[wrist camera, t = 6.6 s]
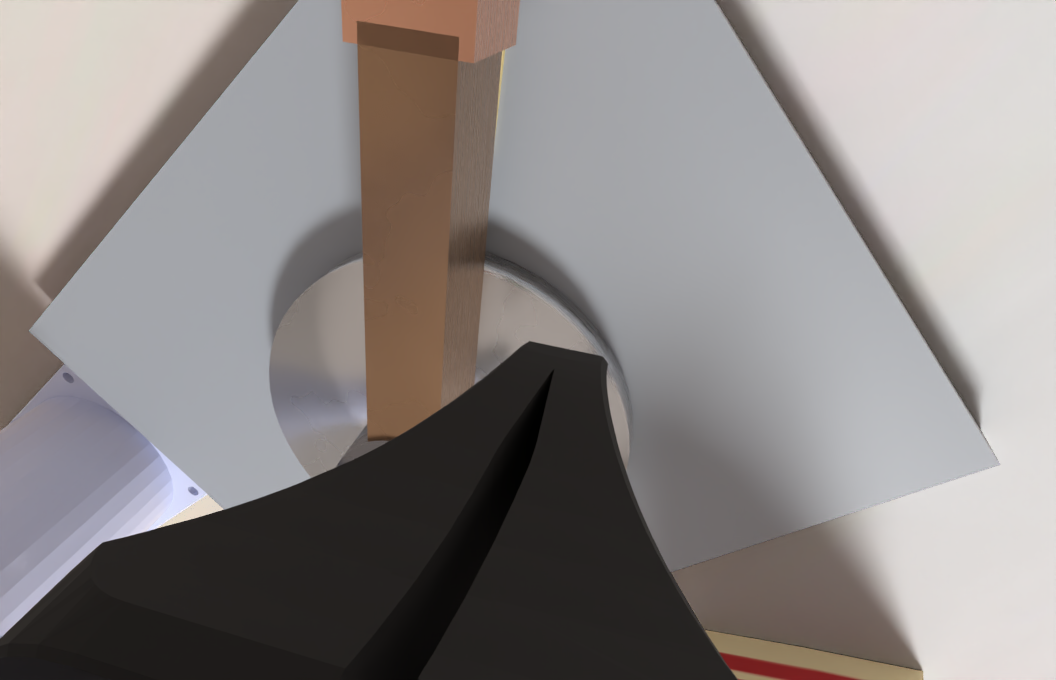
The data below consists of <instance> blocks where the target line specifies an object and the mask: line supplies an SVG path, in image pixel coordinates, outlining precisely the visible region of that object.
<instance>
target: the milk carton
mask: <svg viewBox="0 0 1056 680" xmlns="http://www.w3.org/2000/svg"><path fill="white" fill-rule="evenodd" d="M705 632H706V633H707V635H708V636H709V638H710V639H711V641H712V642H713V644H714V645H715V647H716V648H717V650H718V651H719V653H720V654H721V656H722V657H723V659H724V661H725V662H726V664H727V665H728V666H729V668H730V669H731V671H732V672H733V673H734V675H735V676H736V678H737V679H738V680H923V671H919V670H914V669H909V668H904V667H899V666H894V665H889V664H884V663H879V662H874V661H869V660H864V659H859V658H854V657H849V656H844V655H839V654H834V653H829V652H824V651H819V650H814V649H809V648H804V647H799V646H793V645H787V644H782V643H776V642H771V641H765V640H759V639H754V638H748V637H742V636H737V635H731V634H725V633H720V632H714V631H708V630H705Z"/></svg>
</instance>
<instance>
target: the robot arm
mask: <svg viewBox="0 0 1056 680" xmlns="http://www.w3.org/2000/svg"><path fill="white" fill-rule="evenodd" d="M607 368H608V363H607V361H606V360H605V359H604V357H603V356H599V355H594V354H590V353H585V352H580V351H575V350H570V349H565V348H561V347H556V346H551V345H546V344H541V343H537V342H532V341H529V342H527V343H526V344H524V345H522V346H521V347H520V348H519V349H518V350H516V351H515V352H514V353H513V354H512V355H511V356H509V357H508V358H507V359H506V360H505V361H503V362H502V363H501V364H500V365H499V366H497V367H496V368H495V369H494V370H492V371H491V372H490V373H489V374H488V375H486V376H485V377H484V378H483V379H481V380H480V381H479V382H477V383H476V384H475V385H473V386H472V387H471V388H469V389H468V390H467V391H465V392H464V393H463V394H461V395H460V396H459V397H457V398H456V399H455V400H453V401H452V402H450V403H449V404H447V405H446V406H444V407H443V408H441V409H440V410H438V411H437V412H435V413H434V414H432V415H431V416H429V417H428V418H426V419H425V420H423V421H422V422H420V423H419V424H417V425H416V426H414V427H412V428H411V429H409V430H407V431H406V432H404V433H402V434H401V435H399V436H397V437H396V438H394V439H392V440H390V441H389V442H387V443H385V444H383V445H381V446H379V447H377V448H376V449H374V450H372V451H370V452H368V453H366V454H364V455H362V456H360V457H358V458H356V459H354V460H352V461H349V462H347V463H345V464H342V465H340V466H338V467H335V468H333V469H331V470H328V471H326V472H324V473H322V474H319V475H317V476H315V477H312V478H310V479H308V480H305V481H303V482H301V483H298V484H296V485H293V486H291V487H288V488H286V489H283V490H280V491H277V492H275V493H272V494H269V495H266V496H264V497H261V498H258V499H255V500H252V501H249V502H246V503H243V504H240V505H237V506H234V507H231V508H228V509H225V510H222V511H218V512H215V513H212V514H209V515H205V516H202V517H199V518H195V519H191V520H187V521H184V522H180V523H176V524H172V525H169V526H165V527H161V528H157V527H159V526H160V525H162V524H163V523H165V522H166V521H168V520H169V519H171V518H173V517H174V516H176V515H177V514H179V513H180V512H182V511H183V510H185V509H186V508H188V507H189V506H191V505H192V504H194V503H195V502H197V501H198V500H200V499H201V498H203V497H204V496H206V495H207V493H206V492H204V491H203V490H202V489H201V488H200V487H199V486H198V485H197V484H196V483H195V482H194V481H192V480H191V479H190V478H189V477H188V476H187V475H186V474H185V473H184V472H183V471H181V470H180V469H179V468H178V467H177V466H176V465H175V464H174V463H173V462H172V461H170V460H169V459H168V458H167V457H166V456H165V455H164V454H163V453H162V452H161V451H160V450H158V449H157V448H156V447H155V446H154V445H153V444H152V443H151V442H150V441H149V440H147V439H146V438H145V437H144V436H143V435H142V434H141V433H140V432H139V431H138V430H137V429H135V428H134V427H133V426H132V425H131V424H130V423H129V422H128V421H127V420H126V419H124V418H123V417H122V416H121V415H120V414H119V413H118V412H117V411H116V410H115V409H113V408H112V407H111V406H110V405H109V404H108V403H107V402H106V401H105V400H104V399H103V398H101V397H100V396H99V395H98V394H97V393H96V392H95V391H94V390H93V389H92V388H90V387H89V386H88V385H87V384H86V383H85V382H84V381H83V380H82V379H81V378H79V377H78V376H77V375H76V374H75V373H74V372H73V371H72V370H71V369H70V368H69V367H67V366H66V365H65V364H64V365H63V366H62V367H61V368H60V369H59V370H58V371H57V372H56V373H55V374H54V375H53V376H52V378H51V379H50V380H49V381H48V382H47V383H46V384H45V385H44V386H43V387H42V388H41V389H40V391H39V392H38V393H37V394H36V395H35V396H34V397H33V398H32V399H31V400H30V401H29V402H28V403H27V405H26V406H25V407H24V408H23V409H22V410H21V411H20V412H19V413H18V414H17V415H16V416H15V418H14V419H13V420H12V421H11V422H10V423H9V424H8V425H7V426H6V427H5V428H3V429H2V430H0V680H738V679H737V678H736V676H735V675H734V673H733V672H732V671H731V669H730V668H729V666H728V665H727V664H726V662H725V661H724V659H723V657H722V656H721V654H720V653H719V651H718V650H717V648H716V647H715V645H714V644H713V642H712V641H711V639H710V638H709V636H708V635H707V633H706V632H705V630H704V629H703V627H702V625H701V624H700V622H699V621H698V619H697V617H696V615H695V614H694V612H693V610H692V609H691V607H690V605H689V603H688V602H687V600H686V598H685V596H684V595H683V593H682V591H681V589H680V588H679V586H678V584H677V582H676V581H675V579H674V577H673V576H672V574H671V572H670V570H669V569H668V567H667V565H666V563H665V561H664V559H663V557H662V555H661V553H660V551H659V549H658V547H657V545H656V543H655V541H654V539H653V537H652V535H651V533H650V530H649V528H648V526H647V524H646V521H645V519H644V517H643V514H642V512H641V510H640V507H639V505H638V502H637V500H636V497H635V495H634V492H633V489H632V487H631V484H630V481H629V478H628V475H627V472H626V469H625V466H624V463H623V460H622V457H621V453H620V450H619V446H618V443H617V438H616V434H615V430H614V426H613V422H612V417H611V412H610V407H609V400H608V392H607ZM156 528H157V529H156Z"/></svg>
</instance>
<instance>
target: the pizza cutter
mask: <svg viewBox="0 0 1056 680" xmlns="http://www.w3.org/2000/svg"><path fill="white" fill-rule="evenodd" d="M519 6H520V0H341V10H342V37H343V42H348V43H354V44H357V50H358V88H359V127H360V165H361V204H362V243H363V252H361V253H359V254H357V255H354V256H352V257H350V258H348V259H346V260H344V261H343V262H341V263H340V264H338V265H337V266H335V267H334V268H332V269H331V270H329V271H328V272H327V273H326V274H325V275H323V276H322V277H321V278H320V279H318V280H317V281H316V282H315V283H313V284H312V285H311V286H310V287H309V288H308V289H307V290H306V291H304V292H303V293H302V294H301V295H300V296H299V297H298V298H297V299H296V300H295V301H294V303H293V304H292V305H291V307H290V308H289V310H288V311H287V312H286V314H285V315H284V317H283V319H282V321H281V323H280V325H279V327H278V329H277V331H276V334H275V337H274V341H273V345H272V348H271V354H270V363H269V382H270V392H271V397H272V402H273V407H274V410H275V413H276V416H277V419H278V422H279V425H280V428H281V430H282V432H283V434H284V436H285V438H286V440H287V443H288V445H289V446H290V448H291V450H292V451H293V453H294V454H295V456H296V458H297V459H298V461H299V462H300V464H301V465H302V466H303V468H304V469H305V470H306V472H307V473H308V474H309V476H310V477H311V478H312V477H315V476H317V475H319V474H322V473H324V472H326V471H328V470H331V469H333V468H335V467H338V466H340V465H342V464H345V463H347V462H349V461H352V460H354V459H356V458H358V457H360V456H362V455H364V454H366V453H368V452H370V451H372V450H374V449H376V448H377V447H379V446H381V445H383V444H385V443H387V442H389V441H390V440H392V439H394V438H396V437H397V436H399V435H401V434H402V433H404V432H406V431H407V430H409V429H411V428H412V427H414V426H416V425H417V424H419V423H420V422H422V421H423V420H425V419H426V418H428V417H429V416H431V415H432V414H434V413H435V412H437V411H438V410H440V409H441V408H443V407H444V406H446V405H447V404H449V403H450V402H452V401H453V400H455V399H456V398H457V397H459V396H460V395H461V394H463V393H464V392H465V391H467V390H468V389H469V388H471V387H472V386H473V385H475V384H476V383H477V382H479V381H480V380H481V379H483V378H484V377H485V376H486V375H488V374H489V373H490V372H491V371H492V370H494V369H495V368H496V367H497V366H499V365H500V364H501V363H502V362H503V361H505V360H506V359H507V358H508V357H509V356H511V355H512V354H513V353H514V352H515V351H516V350H518V349H519V348H520V347H521V346H522V345H524V344H526V343H527V342H529V341H532V342H537V343H541V344H546V345H551V346H556V347H561V348H565V349H570V350H575V351H580V352H585V353H590V354H594V355H599V356H603V357H604V359H605V360H606V361H607V363H608V368H607V392H608V400H609V407H610V412H611V417H612V422H613V426H614V430H615V434H616V438H617V443H618V446H619V450H620V453H621V457H622V460H623V463H624V466H625V469H626V471H627V465H628V460H629V454H630V448H631V442H632V436H633V414H632V408H631V401H630V395H629V391H628V388H627V385H626V382H625V379H624V376H623V373H622V371H621V368H620V366H619V364H618V362H617V360H616V358H615V356H614V354H613V352H612V350H611V349H610V347H609V346H608V344H607V343H606V341H605V340H604V338H603V337H602V335H601V334H600V332H599V331H598V329H597V328H596V327H595V326H594V325H593V324H592V322H591V321H590V320H589V319H588V318H587V317H586V315H585V314H584V313H583V312H582V311H581V310H580V309H579V308H578V307H577V306H576V305H575V304H574V303H573V302H571V301H570V300H569V299H568V298H567V297H566V296H565V295H564V294H563V293H561V292H560V291H559V290H557V289H556V288H555V287H553V286H552V285H550V284H549V283H548V282H546V281H545V280H543V279H542V278H541V277H539V276H537V275H536V274H534V273H532V272H530V271H528V270H527V269H525V268H523V267H521V266H519V265H517V264H516V263H514V262H511V261H509V260H506V259H504V258H501V257H499V256H496V255H494V254H491V253H489V252H485V250H486V238H487V226H488V214H489V202H490V190H491V178H492V166H493V154H494V142H495V130H496V119H497V107H498V95H499V83H500V71H501V59H502V51H503V50H505V49H508V48H510V47H512V46H515V45H516V38H517V27H518V16H519Z"/></svg>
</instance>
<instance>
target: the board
mask: <svg viewBox="0 0 1056 680" xmlns="http://www.w3.org/2000/svg"><path fill="white" fill-rule="evenodd" d="M361 252H363V243H362V204H361V165H360V127H359V88H358V50H357V44H354V43H348V42H343V37H342V10H341V0H298V1H297V3H296V4H295V5H294V6H293V8H292V9H291V10H290V11H289V12H288V14H287V15H286V16H285V17H284V19H283V20H282V21H281V22H280V24H279V25H278V26H277V27H276V28H275V30H274V31H273V32H272V33H271V35H270V36H269V37H268V38H267V39H266V41H265V42H264V43H263V44H262V46H261V47H260V48H259V49H258V50H257V52H256V53H255V54H254V55H253V57H252V58H251V59H250V60H249V61H248V63H247V64H246V65H245V66H244V68H243V69H242V70H241V71H240V72H239V74H238V75H237V76H236V77H235V79H234V80H233V81H232V82H231V84H230V85H229V86H228V87H227V88H226V90H225V91H224V92H223V93H222V95H221V96H220V97H219V98H218V99H217V101H216V102H215V103H214V104H213V106H212V107H211V108H210V109H209V110H208V112H207V113H206V114H205V115H204V117H203V118H202V119H201V120H200V121H199V123H198V124H197V125H196V126H195V128H194V129H193V130H192V131H191V132H190V134H189V135H188V136H187V137H186V139H185V140H184V141H183V142H182V144H181V145H180V146H179V147H178V148H177V150H176V151H175V152H174V153H173V155H172V156H171V157H170V158H169V159H168V161H167V162H166V163H165V164H164V166H163V167H162V168H161V169H160V170H159V172H158V173H157V174H156V175H155V177H154V178H153V179H152V180H151V181H150V183H149V184H148V185H147V186H146V188H145V189H144V190H143V191H142V192H141V194H140V195H139V196H138V197H137V199H136V200H135V201H134V202H133V203H132V205H131V206H130V207H129V208H128V210H127V211H126V212H125V213H124V215H123V216H122V217H121V218H120V219H119V221H118V222H117V223H116V224H115V226H114V227H113V228H112V229H111V230H110V232H109V233H108V234H107V235H106V237H105V238H104V239H103V240H102V241H101V243H100V244H99V245H98V246H97V248H96V249H95V250H94V251H93V252H92V254H91V255H90V256H89V257H88V259H87V260H86V261H85V262H84V263H83V265H82V266H81V267H80V268H79V270H78V271H77V272H76V273H75V275H74V276H73V277H72V278H71V279H70V281H69V282H68V283H67V284H66V286H65V287H64V288H63V289H62V290H61V292H60V293H59V294H58V295H57V297H56V298H55V299H54V300H53V301H52V303H51V304H50V305H49V306H48V308H47V309H46V310H45V311H44V312H43V314H42V315H41V316H40V317H39V319H38V320H37V321H36V322H35V323H34V325H33V326H32V327H31V328H30V330H29V332H30V333H31V334H32V335H33V336H35V337H36V338H37V339H38V340H39V341H40V342H41V343H42V344H43V345H44V346H45V347H47V348H48V349H49V350H50V351H51V352H52V353H53V354H54V355H55V356H56V357H58V358H59V359H60V360H61V361H62V362H63V363H64V364H65V365H66V366H67V367H69V368H70V369H71V370H72V371H73V372H74V373H75V374H76V375H77V376H78V377H79V378H81V379H82V380H83V381H84V382H85V383H86V384H87V385H88V386H89V387H90V388H92V389H93V390H94V391H95V392H96V393H97V394H98V395H99V396H100V397H101V398H103V399H104V400H105V401H106V402H107V403H108V404H109V405H110V406H111V407H112V408H113V409H115V410H116V411H117V412H118V413H119V414H120V415H121V416H122V417H123V418H124V419H126V420H127V421H128V422H129V423H130V424H131V425H132V426H133V427H134V428H135V429H137V430H138V431H139V432H140V433H141V434H142V435H143V436H144V437H145V438H146V439H147V440H149V441H150V442H151V443H152V444H153V445H154V446H155V447H156V448H157V449H158V450H160V451H161V452H162V453H163V454H164V455H165V456H166V457H167V458H168V459H169V460H170V461H172V462H173V463H174V464H175V465H176V466H177V467H178V468H179V469H180V470H181V471H183V472H184V473H185V474H186V475H187V476H188V477H189V478H190V479H191V480H192V481H194V482H195V483H196V484H197V485H198V486H199V487H200V488H201V489H202V490H203V491H204V492H206V493H207V494H208V495H209V496H210V497H211V498H212V499H213V500H214V501H215V502H217V503H218V504H219V505H220V506H221V507H222V508H223V509H224V510H225V509H228V508H231V507H234V506H237V505H240V504H243V503H246V502H249V501H252V500H255V499H258V498H261V497H264V496H266V495H269V494H272V493H275V492H277V491H280V490H283V489H286V488H288V487H291V486H293V485H296V484H298V483H301V482H303V481H305V480H308V479H310V478H311V477H310V476H309V474H308V473H307V472H306V470H305V469H304V468H303V466H302V465H301V464H300V462H299V461H298V459H297V458H296V456H295V454H294V453H293V451H292V450H291V448H290V446H289V445H288V443H287V440H286V438H285V436H284V434H283V432H282V430H281V428H280V425H279V422H278V419H277V416H276V413H275V410H274V407H273V402H272V397H271V392H270V382H269V363H270V354H271V348H272V345H273V341H274V337H275V334H276V331H277V329H278V327H279V325H280V323H281V321H282V319H283V317H284V315H285V314H286V312H287V311H288V310H289V308H290V307H291V305H292V304H293V303H294V301H295V300H296V299H297V298H298V297H299V296H300V295H301V294H302V293H303V292H304V291H306V290H307V289H308V288H309V287H310V286H311V285H312V284H313V283H315V282H316V281H317V280H318V279H320V278H321V277H322V276H323V275H325V274H326V273H327V272H328V271H329V270H331V269H332V268H334V267H335V266H337V265H338V264H340V263H341V262H343V261H344V260H346V259H348V258H350V257H352V256H354V255H357V254H359V253H361ZM485 252H489V253H491V254H494V255H496V256H499V257H501V258H504V259H506V260H509V261H511V262H514V263H516V264H517V265H519V266H521V267H523V268H525V269H527V270H528V271H530V272H532V273H534V274H536V275H537V276H539V277H541V278H542V279H543V280H545V281H546V282H548V283H549V284H550V285H552V286H553V287H555V288H556V289H557V290H559V291H560V292H561V293H563V294H564V295H565V296H566V297H567V298H568V299H569V300H570V301H571V302H573V303H574V304H575V305H576V306H577V307H578V308H579V309H580V310H581V311H582V312H583V313H584V314H585V315H586V317H587V318H588V319H589V320H590V321H591V322H592V324H593V325H594V326H595V327H596V328H597V329H598V331H599V332H600V334H601V335H602V337H603V338H604V340H605V341H606V343H607V344H608V346H609V347H610V349H611V350H612V352H613V354H614V356H615V358H616V360H617V362H618V364H619V366H620V368H621V371H622V373H623V376H624V379H625V382H626V385H627V388H628V391H629V395H630V401H631V408H632V414H633V436H632V442H631V448H630V454H629V460H628V465H627V471H626V472H627V475H628V478H629V481H630V484H631V487H632V489H633V492H634V495H635V497H636V500H637V502H638V505H639V507H640V510H641V512H642V514H643V517H644V519H645V521H646V524H647V526H648V528H649V530H650V533H651V535H652V537H653V539H654V541H655V543H656V545H657V547H658V549H659V551H660V553H661V555H662V557H663V559H664V561H665V563H666V565H667V567H668V569H669V570H670V572H673V571H676V570H680V569H683V568H686V567H689V566H692V565H695V564H698V563H701V562H704V561H707V560H710V559H713V558H716V557H719V556H722V555H725V554H729V553H732V552H735V551H738V550H741V549H744V548H747V547H750V546H753V545H756V544H759V543H762V542H765V541H768V540H771V539H774V538H777V537H781V536H784V535H787V534H790V533H793V532H796V531H799V530H802V529H805V528H808V527H811V526H814V525H817V524H820V523H823V522H826V521H829V520H833V519H836V518H839V517H842V516H845V515H848V514H851V513H854V512H857V511H860V510H863V509H866V508H869V507H872V506H875V505H878V504H881V503H885V502H888V501H891V500H894V499H897V498H900V497H903V496H906V495H909V494H912V493H915V492H918V491H921V490H924V489H927V488H930V487H933V486H937V485H940V484H943V483H946V482H949V481H952V480H955V479H958V478H961V477H964V476H967V475H970V474H973V473H976V472H979V471H982V470H985V469H989V468H992V467H995V466H998V465H1000V463H999V461H998V460H997V458H996V456H995V454H994V453H993V451H992V449H991V447H990V445H989V444H988V442H987V440H986V438H985V437H984V435H983V433H982V431H981V430H980V428H979V426H978V425H977V423H976V422H975V420H974V418H973V417H972V415H971V413H970V412H969V410H968V409H967V407H966V405H965V404H964V402H963V400H962V399H961V397H960V396H959V394H958V392H957V391H956V389H955V387H954V386H953V384H952V383H951V381H950V379H949V378H948V376H947V374H946V373H945V371H944V370H943V368H942V366H941V365H940V363H939V362H938V360H937V358H936V357H935V355H934V353H933V352H932V350H931V349H930V347H929V345H928V344H927V342H926V340H925V339H924V337H923V336H922V334H921V332H920V331H919V329H918V327H917V326H916V324H915V323H914V321H913V319H912V318H911V316H910V314H909V313H908V311H907V310H906V308H905V306H904V305H903V303H902V301H901V300H900V298H899V297H898V295H897V293H896V292H895V290H894V288H893V287H892V285H891V284H890V282H889V280H888V279H887V277H886V275H885V274H884V272H883V271H882V269H881V267H880V266H879V264H878V262H877V261H876V259H875V258H874V256H873V254H872V253H871V251H870V250H869V248H868V246H867V245H866V243H865V241H864V240H863V238H862V237H861V235H860V233H859V232H858V230H857V228H856V227H855V225H854V224H853V222H852V220H851V219H850V217H849V215H848V214H847V212H846V211H845V209H844V207H843V206H842V204H841V202H840V201H839V199H838V198H837V196H836V194H835V193H834V191H833V189H832V188H831V186H830V185H829V183H828V181H827V180H826V178H825V176H824V175H823V173H822V172H821V170H820V168H819V167H818V165H817V163H816V162H815V160H814V159H813V157H812V155H811V154H810V152H809V150H808V149H807V147H806V146H805V144H804V142H803V141H802V139H801V138H800V136H799V134H798V133H797V131H796V129H795V128H794V126H793V125H792V123H791V121H790V120H789V118H788V116H787V115H786V113H785V112H784V110H783V108H782V107H781V105H780V103H779V102H778V100H777V99H776V97H775V95H774V94H773V92H772V90H771V89H770V87H769V86H768V84H767V82H766V81H765V79H764V77H763V76H762V74H761V73H760V71H759V69H758V68H757V66H756V64H755V63H754V61H753V60H752V58H751V56H750V55H749V53H748V51H747V50H746V48H745V47H744V45H743V43H742V42H741V40H740V38H739V37H738V35H737V34H736V32H735V30H734V29H733V27H732V26H731V24H730V22H729V21H728V19H727V17H726V16H725V14H724V13H723V11H722V9H721V8H720V6H719V4H718V3H717V1H716V0H520V6H519V16H518V27H517V38H516V45H515V46H512V47H510V48H508V49H505V50H503V51H502V59H501V71H500V83H499V95H498V107H497V119H496V130H495V142H494V154H493V166H492V178H491V190H490V202H489V214H488V226H487V238H486V250H485Z"/></svg>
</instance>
